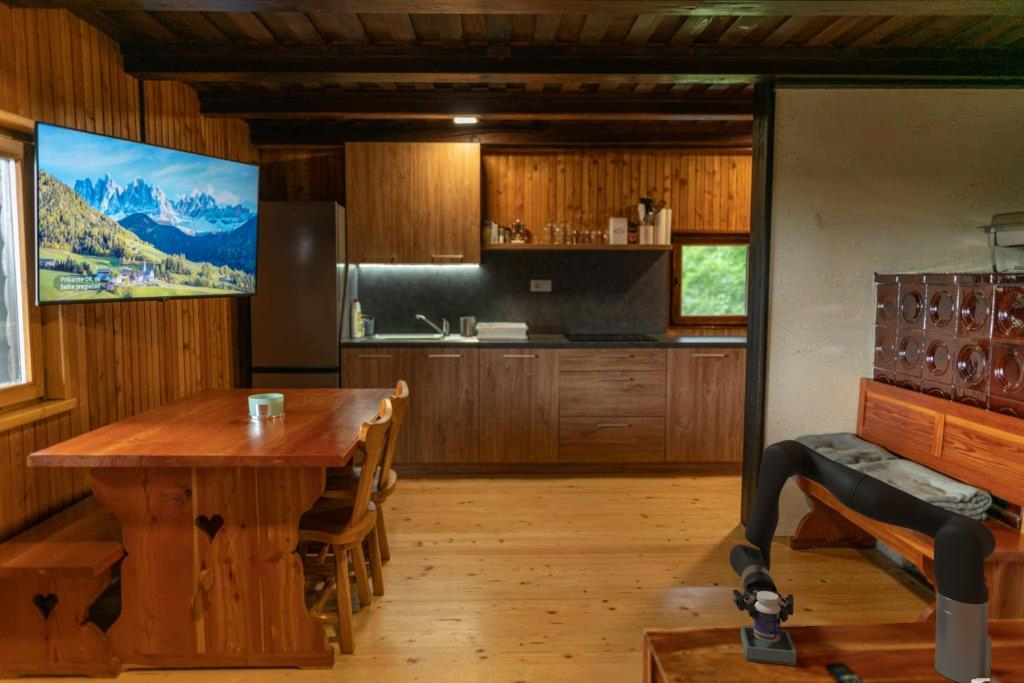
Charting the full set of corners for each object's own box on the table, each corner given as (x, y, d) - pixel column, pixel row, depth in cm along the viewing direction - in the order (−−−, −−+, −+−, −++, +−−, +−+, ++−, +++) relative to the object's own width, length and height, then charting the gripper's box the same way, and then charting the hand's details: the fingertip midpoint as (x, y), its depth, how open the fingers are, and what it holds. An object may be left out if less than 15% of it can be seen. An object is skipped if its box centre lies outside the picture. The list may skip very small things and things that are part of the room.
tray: (787, 642, 160) (787, 630, 160) (796, 665, 150) (796, 652, 150) (741, 638, 162) (741, 626, 162) (746, 660, 152) (746, 647, 152)
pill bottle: (782, 644, 153) (783, 601, 152) (755, 642, 154) (756, 599, 153) (777, 632, 158) (778, 590, 158) (752, 629, 159) (752, 588, 159)
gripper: (728, 568, 171) (736, 597, 154) (789, 573, 168) (803, 603, 151) (728, 597, 171) (735, 629, 155) (788, 602, 168) (803, 636, 152)
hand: (769, 616), depth 153 cm, fingers closed on pill bottle, 5 cm apart
